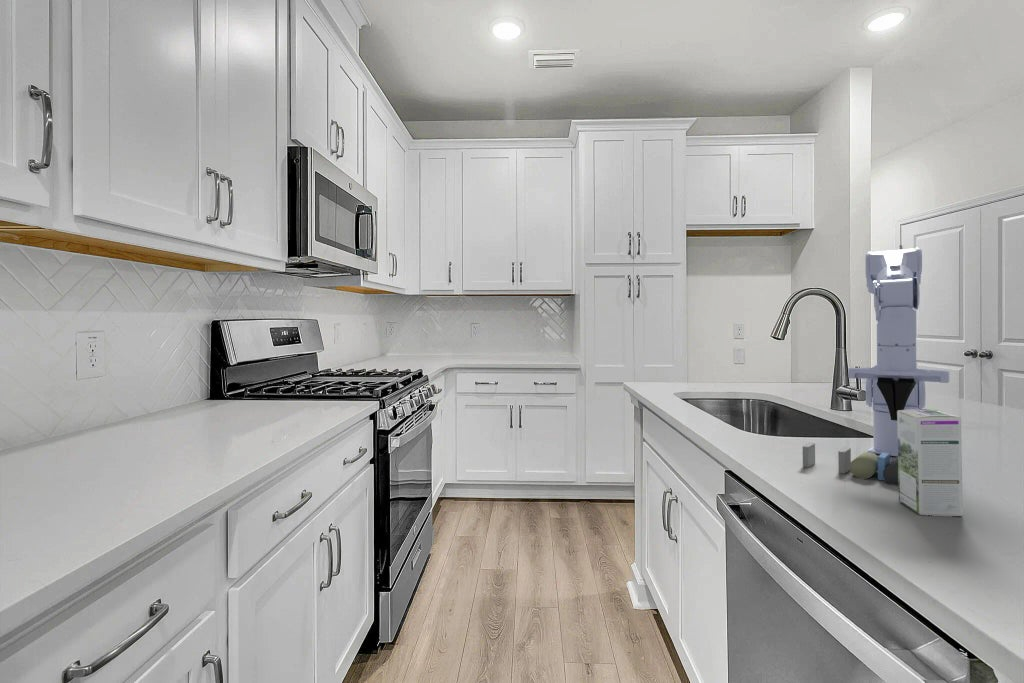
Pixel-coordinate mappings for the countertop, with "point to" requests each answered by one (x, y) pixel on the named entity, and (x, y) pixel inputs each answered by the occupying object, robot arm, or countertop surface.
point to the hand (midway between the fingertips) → (896, 419)
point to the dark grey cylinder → (891, 472)
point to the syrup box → (930, 462)
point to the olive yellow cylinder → (864, 465)
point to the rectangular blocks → (843, 459)
